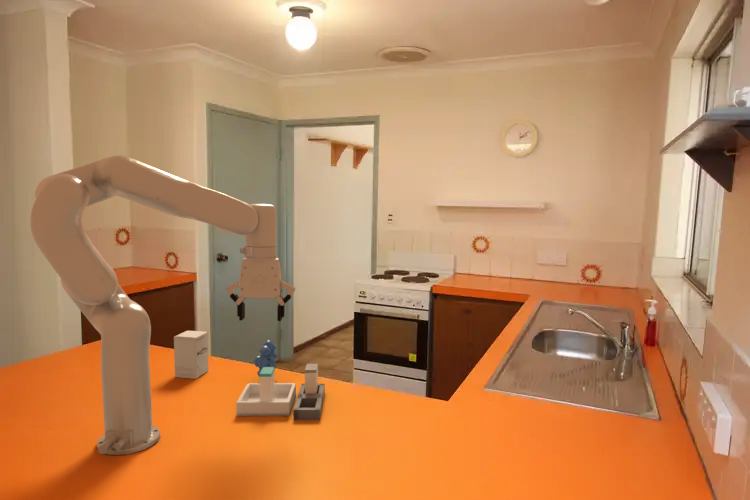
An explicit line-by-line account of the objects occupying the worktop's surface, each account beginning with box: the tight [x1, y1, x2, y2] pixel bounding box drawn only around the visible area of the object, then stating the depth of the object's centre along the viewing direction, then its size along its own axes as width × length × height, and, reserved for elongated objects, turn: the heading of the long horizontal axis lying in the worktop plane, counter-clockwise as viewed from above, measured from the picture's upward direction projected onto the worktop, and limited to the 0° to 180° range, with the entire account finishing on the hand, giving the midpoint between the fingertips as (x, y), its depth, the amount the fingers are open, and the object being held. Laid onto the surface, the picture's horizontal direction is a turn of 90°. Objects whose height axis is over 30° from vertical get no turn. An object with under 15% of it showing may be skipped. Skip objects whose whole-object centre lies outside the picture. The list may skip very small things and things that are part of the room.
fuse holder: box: [292, 383, 326, 421], centre depth 135 cm, size 17×6×2 cm, turn 2°
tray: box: [235, 382, 297, 417], centre depth 135 cm, size 13×13×4 cm
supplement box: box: [173, 330, 210, 380], centre depth 157 cm, size 7×7×13 cm
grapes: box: [252, 339, 278, 380], centre depth 151 cm, size 12×7×12 cm, turn 174°
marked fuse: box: [259, 367, 276, 401], centre depth 134 cm, size 5×3×9 cm, turn 2°
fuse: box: [304, 363, 319, 394], centre depth 139 cm, size 5×3×9 cm, turn 2°
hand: (261, 319), depth 132 cm, fingers open, 9 cm apart
